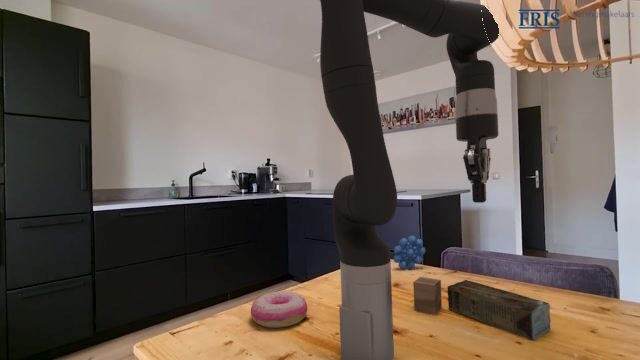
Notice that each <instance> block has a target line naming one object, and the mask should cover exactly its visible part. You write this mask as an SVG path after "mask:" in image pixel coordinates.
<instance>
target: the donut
mask: <svg viewBox="0 0 640 360" xmlns="http://www.w3.org/2000/svg"><path fill="white" fill-rule="evenodd" d="M307 312H308V303H307V301H306V299H305V298H304V297H303V296H301V295H300V294H299V293H297V292H293V291H287V290H286V291H285V290H283V291H273V292H267V293H265V294H263V295H261V296H259V297H258V298H256V299H255V300H254V301H253V303H252V304H251V307H250V315H251V318H252V319H253V320H254V322H255V323H256V324H258V325H260V326H263V327H265V328H269V329H270V328H271V329H281V328H287V327H291V326H294V325H297V324H298V323H299V322H301V321H303V320H304V318H305V317H306V315H307Z"/></svg>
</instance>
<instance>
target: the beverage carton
mask: <svg viewBox="0 0 640 360" xmlns="http://www.w3.org/2000/svg"><path fill="white" fill-rule="evenodd" d="M447 303H448V310H449V311H453V312H454V313H456V314H459V315H463V316H465V317H467V318H471V319H474V320H476V321H478V322H481V323H484V324H486V325H489V326H492V327H495V328H497V329H499V330H503V331H505V332H508V333H510V334H513V335H517V336H519V337H522V338H525V339H527V340H531V341H535V340H537V339H538V338H539V337H542V336H543V335H544V334H545V335H546V333H549V331H550V330H551V322H552V321H551V316H550V313H551V311H550V308H551V307H550V306H551V305H550V303H549V302H546V301H542V300H540V299H535V298H531V297H528V296H525V295H522V294H518V293H515V292H511V291H508V290H504V289H500V288H497V287H494V286H490V285H486V284H482V283H479V282H477V281H476V282H475V281H472V280H467V279H464V280H462V281H460V282H455V283H454V284H451V285H448V286H447Z"/></svg>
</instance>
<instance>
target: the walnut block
mask: <svg viewBox="0 0 640 360" xmlns="http://www.w3.org/2000/svg"><path fill="white" fill-rule="evenodd" d="M412 283H413V303H414V304H413V308H414V310H413V311H414V312H415V311H416V312H418V313H423V314H427V315H432V316H436V315H437V314H438V313H439V312H440V311H441V310H442V308H443V306H442V305H443V302H442V280H441V279H437V278H432V277H431V278H430V277H424V276H420V277H419V278H417V279H415V280H414V281H413V282H412Z"/></svg>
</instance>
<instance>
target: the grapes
mask: <svg viewBox="0 0 640 360" xmlns="http://www.w3.org/2000/svg"><path fill="white" fill-rule="evenodd" d="M416 237H417V236H415V235H410V236H408V238H405V237H403V238H401V239H400V240H399V245H396V246H395V247H394V248H393V252H394V254H395V255H394V256H393V262H394V263H395V264H396V263H398V267H399V269H401V270H402V269H403V270H405V268H407V269H408V270H412V269H414V268H415V266H416V265H419V264H421V263H422V262H423V257H422V256H423V255H425V253H426V248H425V247H424V246H423V244H424V242H423V239H421V238H416Z"/></svg>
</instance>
